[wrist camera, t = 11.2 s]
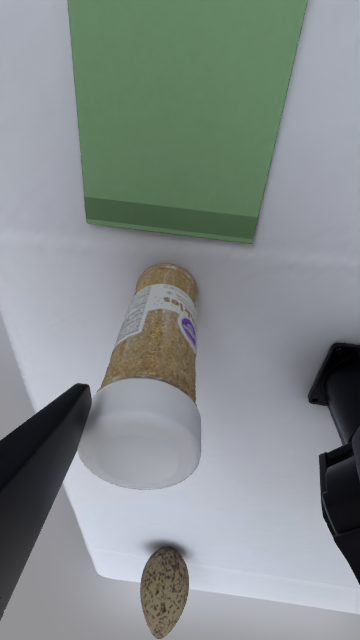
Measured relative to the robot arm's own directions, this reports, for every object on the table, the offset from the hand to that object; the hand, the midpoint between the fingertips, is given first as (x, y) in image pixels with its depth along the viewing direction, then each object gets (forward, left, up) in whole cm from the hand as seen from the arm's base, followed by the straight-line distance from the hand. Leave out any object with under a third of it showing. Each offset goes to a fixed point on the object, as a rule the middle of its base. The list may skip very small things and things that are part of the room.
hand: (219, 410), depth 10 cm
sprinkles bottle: (-2, +4, -13) cm, 13 cm away
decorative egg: (-49, 0, -13) cm, 51 cm away
